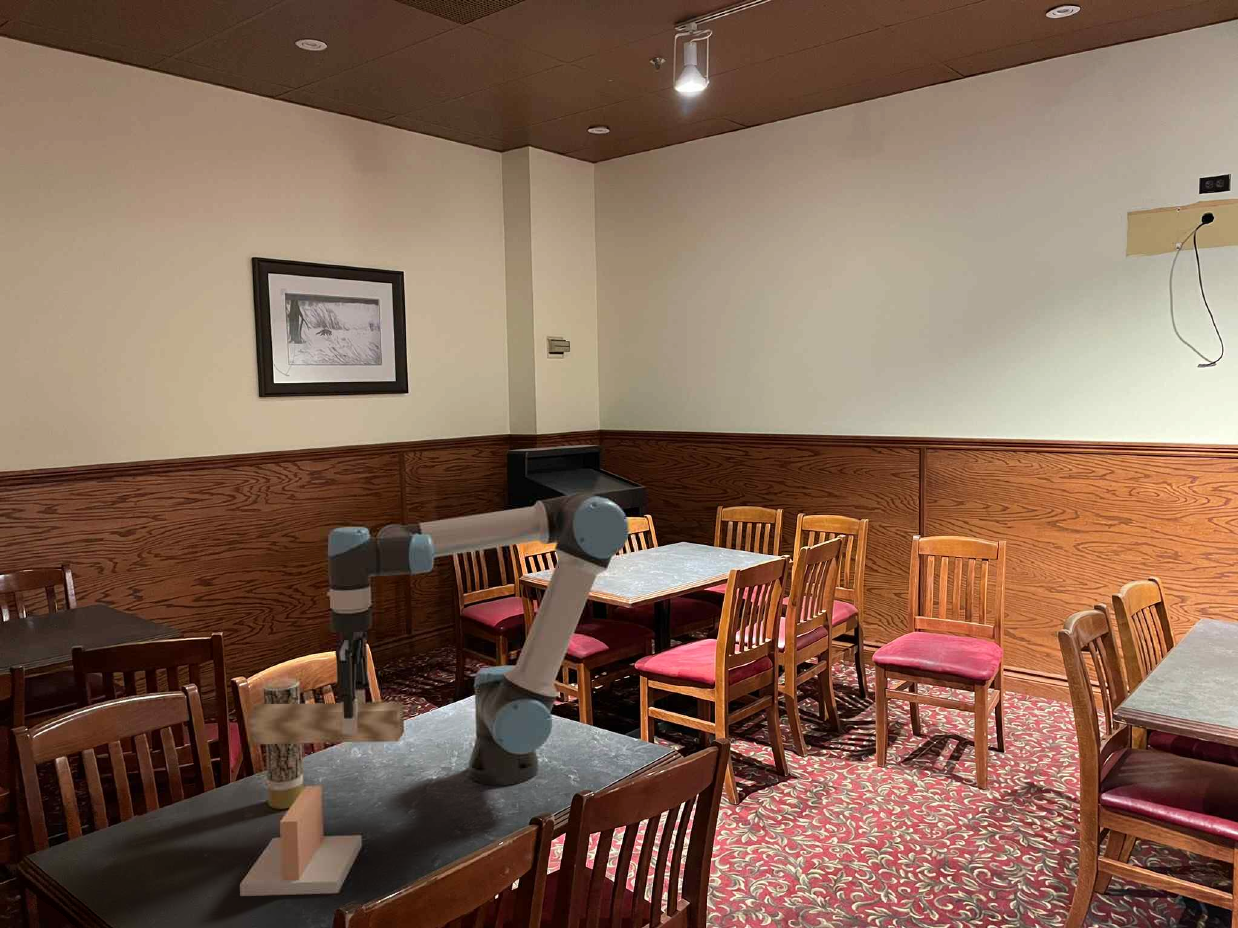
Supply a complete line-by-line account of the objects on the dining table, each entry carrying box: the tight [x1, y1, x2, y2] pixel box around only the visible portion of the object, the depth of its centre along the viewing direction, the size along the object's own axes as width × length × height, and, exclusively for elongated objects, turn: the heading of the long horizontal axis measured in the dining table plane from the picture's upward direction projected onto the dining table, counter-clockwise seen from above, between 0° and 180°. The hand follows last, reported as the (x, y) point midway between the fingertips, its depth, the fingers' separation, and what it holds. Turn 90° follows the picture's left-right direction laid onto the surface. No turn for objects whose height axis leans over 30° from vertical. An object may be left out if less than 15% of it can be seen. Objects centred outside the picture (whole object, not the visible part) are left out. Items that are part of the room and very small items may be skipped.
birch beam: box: [248, 701, 405, 745], centre depth 175 cm, size 28×5×6 cm, turn 91°
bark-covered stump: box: [262, 677, 304, 810], centre depth 184 cm, size 7×7×25 cm
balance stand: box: [239, 785, 363, 897], centre depth 158 cm, size 16×16×12 cm
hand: (354, 727), depth 175 cm, fingers closed on birch beam, 5 cm apart
